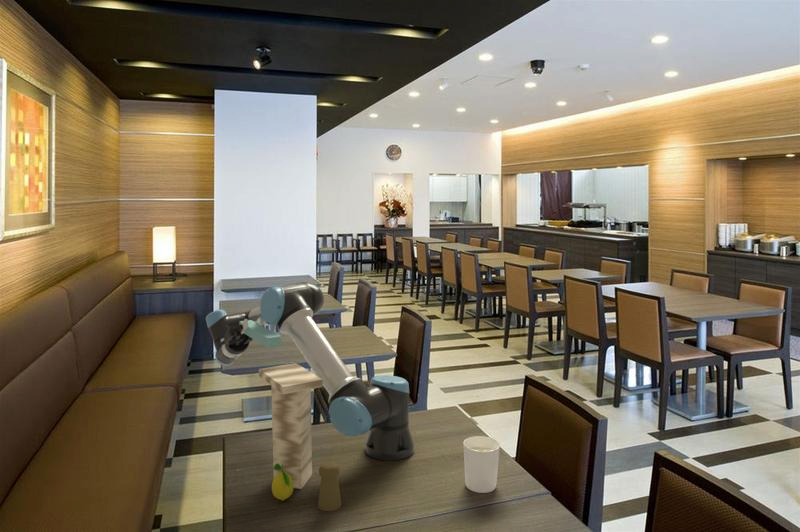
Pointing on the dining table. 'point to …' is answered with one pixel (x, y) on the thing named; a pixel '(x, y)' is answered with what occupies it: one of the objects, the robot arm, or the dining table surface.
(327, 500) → the cork
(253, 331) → the bar
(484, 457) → the candle holder
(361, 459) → the dining table surface
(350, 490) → the dining table surface
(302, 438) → the stand
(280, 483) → the lemon
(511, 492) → the dining table surface
